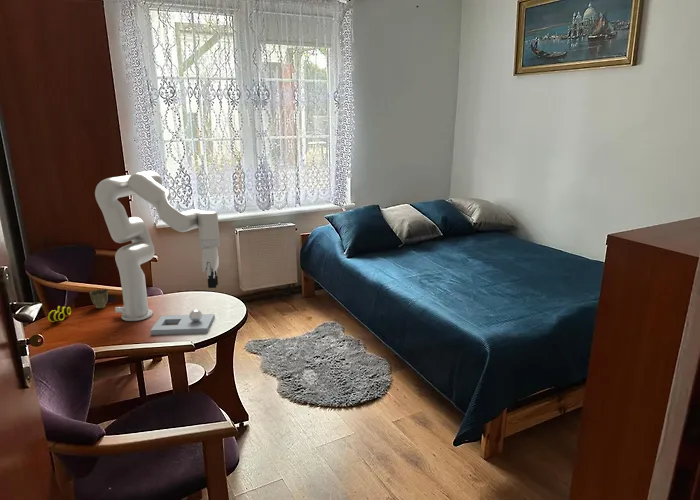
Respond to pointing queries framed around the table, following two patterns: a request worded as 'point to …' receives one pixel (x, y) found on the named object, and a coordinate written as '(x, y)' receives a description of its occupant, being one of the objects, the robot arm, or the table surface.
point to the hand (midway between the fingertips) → (213, 286)
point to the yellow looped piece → (59, 314)
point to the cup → (99, 298)
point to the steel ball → (195, 315)
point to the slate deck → (182, 324)
